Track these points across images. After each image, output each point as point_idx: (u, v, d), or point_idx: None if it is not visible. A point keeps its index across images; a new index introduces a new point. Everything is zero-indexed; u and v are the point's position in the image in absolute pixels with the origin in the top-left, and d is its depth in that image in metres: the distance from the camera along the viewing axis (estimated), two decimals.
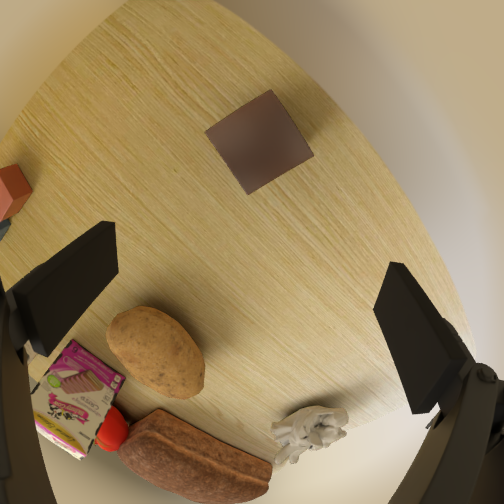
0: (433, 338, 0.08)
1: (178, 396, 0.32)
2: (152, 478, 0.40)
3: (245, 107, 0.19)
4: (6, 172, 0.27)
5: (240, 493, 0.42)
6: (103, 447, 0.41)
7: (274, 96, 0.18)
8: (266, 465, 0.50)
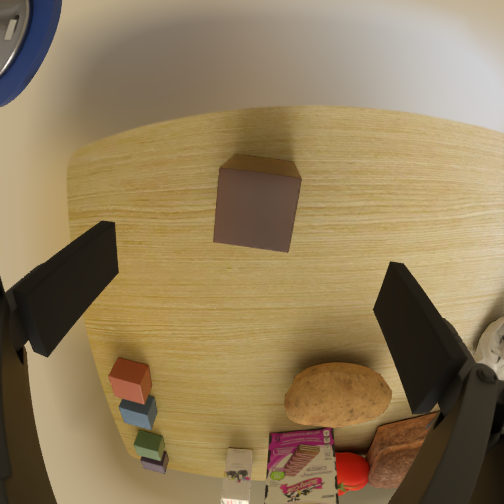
0: (433, 338, 0.08)
1: (377, 414, 0.31)
2: None
3: (219, 198, 0.20)
4: (116, 370, 0.37)
5: None
6: (355, 489, 0.41)
7: (227, 170, 0.20)
8: None
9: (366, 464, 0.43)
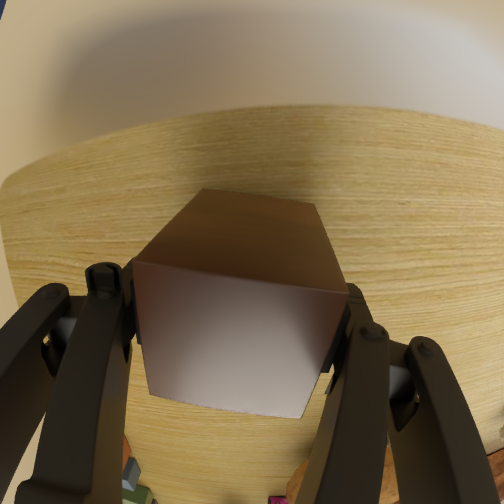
0: None
1: (396, 500, 0.20)
2: None
3: (143, 328, 0.08)
4: None
5: None
6: None
7: (152, 268, 0.07)
8: None
9: None
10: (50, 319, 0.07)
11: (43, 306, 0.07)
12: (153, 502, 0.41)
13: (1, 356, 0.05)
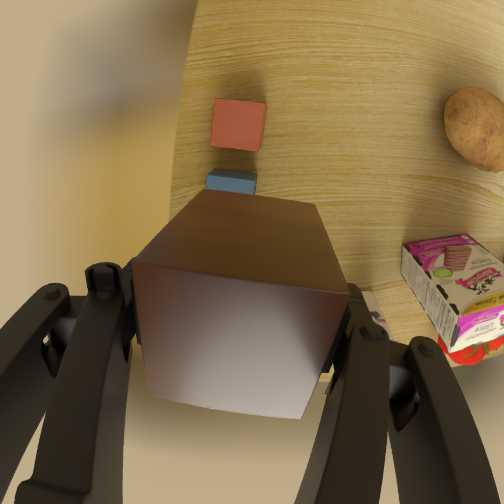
0: None
1: None
2: None
3: (143, 328, 0.08)
4: None
5: None
6: (500, 341, 0.32)
7: (152, 268, 0.07)
8: None
9: None
10: (50, 319, 0.07)
11: (43, 306, 0.07)
12: None
13: (1, 356, 0.05)
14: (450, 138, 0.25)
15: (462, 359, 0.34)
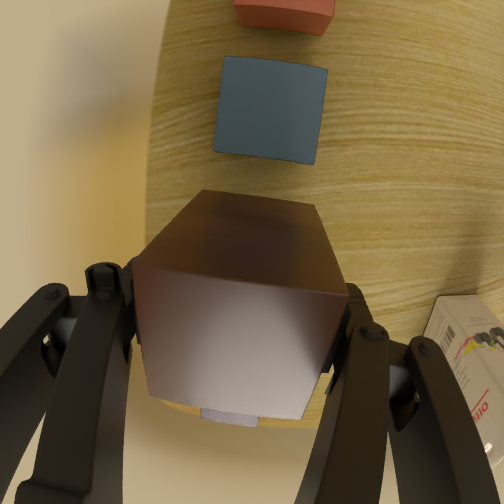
0: None
1: None
2: None
3: (143, 330, 0.08)
4: None
5: None
6: None
7: (151, 270, 0.07)
8: None
9: None
10: (50, 319, 0.07)
11: (43, 306, 0.07)
12: None
13: (1, 356, 0.05)
14: None
15: None
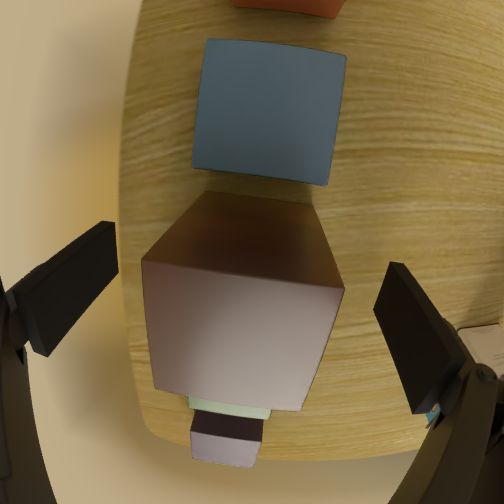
0: (433, 338, 0.08)
1: None
2: None
3: (150, 323, 0.09)
4: None
5: None
6: None
7: (160, 265, 0.08)
8: None
9: None
10: None
11: None
12: None
13: None
14: None
15: None
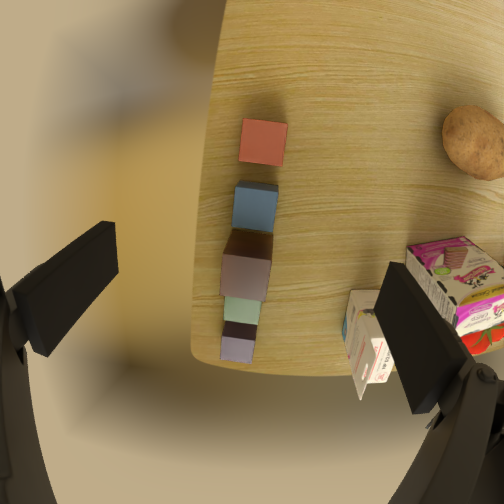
0: (433, 338, 0.08)
1: None
2: None
3: (222, 271, 0.34)
4: None
5: None
6: (502, 332, 0.35)
7: (227, 255, 0.34)
8: None
9: None
10: None
11: None
12: (254, 327, 0.46)
13: None
14: (447, 152, 0.29)
15: (468, 348, 0.37)
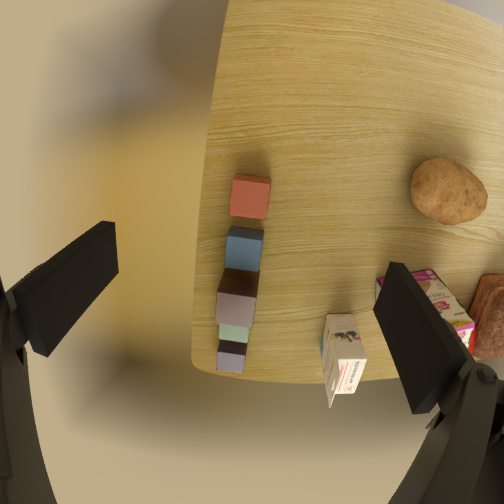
0: (433, 338, 0.08)
1: (482, 205, 0.33)
2: None
3: (217, 304, 0.42)
4: (240, 178, 0.40)
5: None
6: None
7: (220, 293, 0.41)
8: None
9: None
10: None
11: None
12: (245, 343, 0.54)
13: None
14: None
15: None
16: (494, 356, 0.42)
